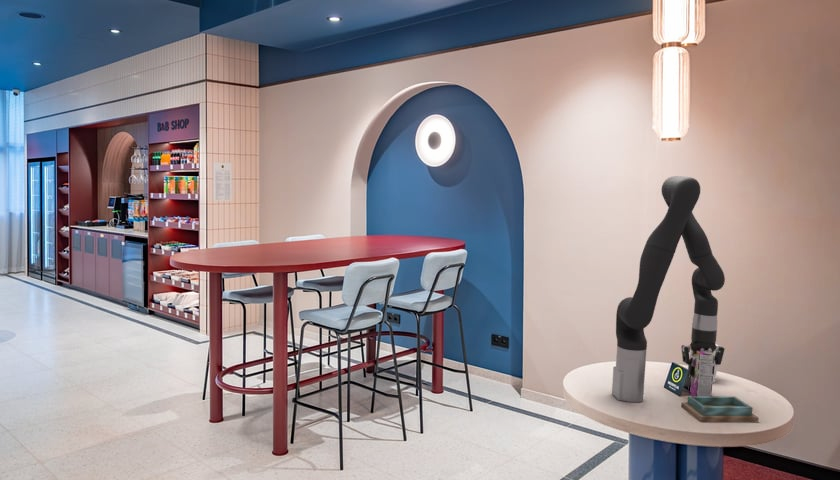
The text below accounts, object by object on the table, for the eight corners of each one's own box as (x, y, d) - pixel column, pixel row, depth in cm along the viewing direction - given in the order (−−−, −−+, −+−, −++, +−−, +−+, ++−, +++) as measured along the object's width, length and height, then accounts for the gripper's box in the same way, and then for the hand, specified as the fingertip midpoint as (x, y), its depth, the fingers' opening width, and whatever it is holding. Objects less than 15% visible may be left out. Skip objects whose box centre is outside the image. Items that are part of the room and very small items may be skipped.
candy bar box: (687, 390, 209) (690, 344, 207) (702, 391, 208) (706, 345, 206) (695, 401, 198) (699, 353, 196) (711, 403, 197) (715, 354, 195)
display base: (700, 421, 181) (701, 409, 180) (681, 406, 193) (682, 394, 192) (758, 422, 182) (759, 409, 181) (735, 407, 194) (736, 395, 193)
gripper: (689, 329, 196) (685, 379, 198) (731, 330, 197) (727, 380, 199) (678, 324, 204) (674, 372, 205) (719, 324, 204) (715, 372, 206)
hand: (700, 376), depth 202 cm, fingers closed on candy bar box, 5 cm apart
